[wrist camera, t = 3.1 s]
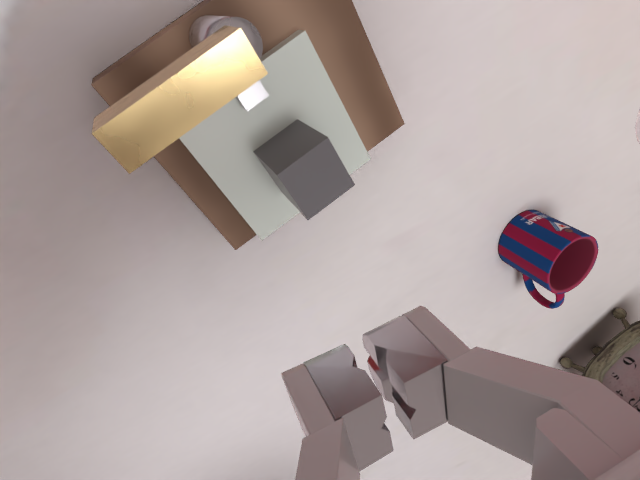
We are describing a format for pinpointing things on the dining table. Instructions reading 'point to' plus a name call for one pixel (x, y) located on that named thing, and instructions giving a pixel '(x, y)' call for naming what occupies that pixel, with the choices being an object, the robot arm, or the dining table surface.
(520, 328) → the dining table surface
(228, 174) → the cover
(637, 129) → the cylinder with rectangular tab
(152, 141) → the post with tan bar
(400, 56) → the dining table surface
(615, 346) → the tabletop clock
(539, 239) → the mug
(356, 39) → the housing
